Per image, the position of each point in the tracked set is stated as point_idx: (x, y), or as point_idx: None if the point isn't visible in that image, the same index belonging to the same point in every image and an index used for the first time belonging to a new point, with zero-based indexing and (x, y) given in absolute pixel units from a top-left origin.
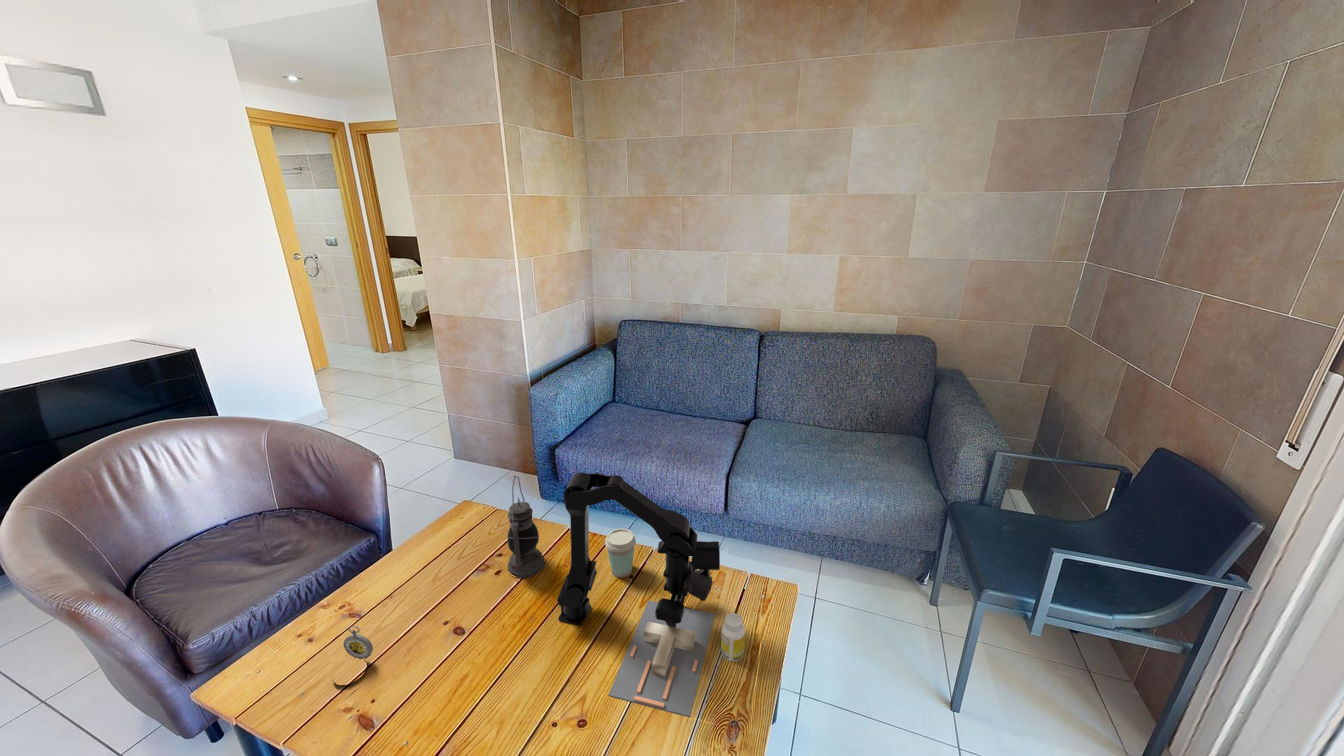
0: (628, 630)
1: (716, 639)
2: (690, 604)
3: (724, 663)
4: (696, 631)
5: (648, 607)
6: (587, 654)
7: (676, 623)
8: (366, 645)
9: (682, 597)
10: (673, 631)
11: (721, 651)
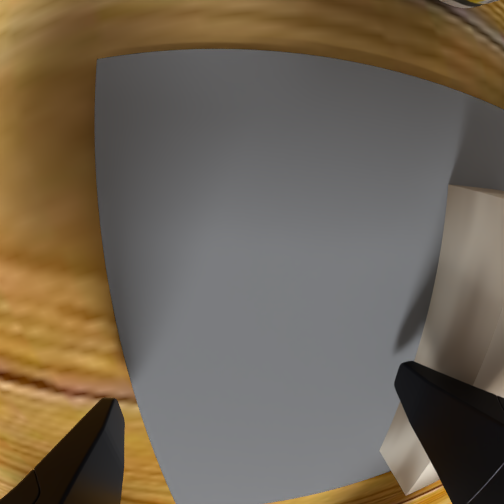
0: (363, 485)
1: (378, 21)
2: (62, 324)
3: (491, 10)
4: (368, 192)
5: (225, 501)
6: (435, 486)
7: (458, 391)
8: None
9: (105, 456)
10: (498, 368)
11: (472, 6)
